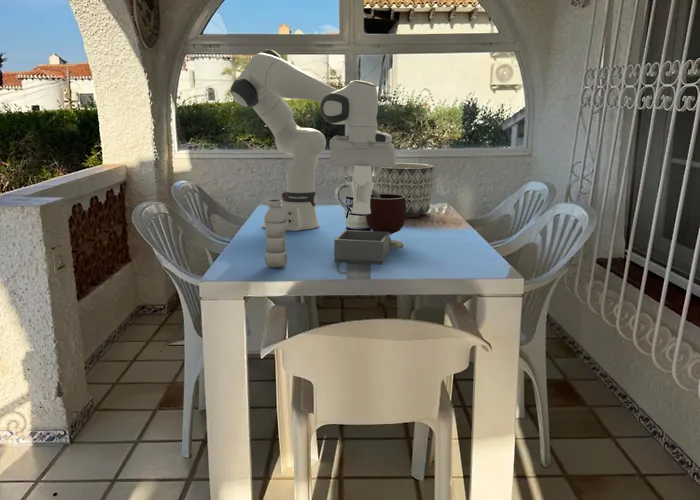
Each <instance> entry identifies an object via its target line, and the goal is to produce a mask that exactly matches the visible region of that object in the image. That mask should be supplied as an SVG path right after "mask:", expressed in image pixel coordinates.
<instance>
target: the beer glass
mask: <svg viewBox="0 0 700 500" xmlns="http://www.w3.org/2000/svg"><path fill="white" fill-rule="evenodd" d="M351 168H352V170H351V175H352V182H351V189H352V198H353V204H352V209H351V213H352V214H354V215H362V216H363V215H364V216H366V215H367V214H371V205H370V202H371V195H372V190H373V188H374V185H375V182H373V177H374V176H375V167H372V166H361V165H353V167H351Z"/></svg>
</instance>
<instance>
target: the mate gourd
mask: <svg viewBox="0 0 700 500" xmlns="http://www.w3.org/2000/svg"><path fill="white" fill-rule="evenodd" d="M370 205H371V214H367V215H365V220H366V225H368V227H369V228H370V231H378V232H390V236H392V235H393V234H395V233H397V232H400V231H401V230H402V228H404V226H405V223H406V219H407V218H406V201H405V196H404V195H399V194H379V193H378V192H377V191H376V188H374V187H373V190H372V195H371V202H370ZM403 247H404V243H403V242H402V241H399V240H396V239H395V240H393V239H391V238H390V244H389V250H396V249H400V248H403Z"/></svg>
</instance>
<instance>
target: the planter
mask: <svg viewBox="0 0 700 500" xmlns="http://www.w3.org/2000/svg"><path fill="white" fill-rule="evenodd" d="M434 168H435V166H434V165H432V164H428V163H427V164H426V163H416V162H415V163H411V162H409V163H407V162H396V165H395V166H394V167H392V168H388V167H382V171H381V173H380V175H379V176H378V182H374V185H375V190H376V191H377V192H378V193H379V194H399V195H404V196H405V201H406V219H407V218H416V217H419V216H420V215H421V214H426V213H428V212H429V211H431V199H432V190H433V188H432V187H433V178H434V170H435V169H434ZM377 173H378V171H377V167H374V176H376V175H377Z"/></svg>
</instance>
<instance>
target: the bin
mask: <svg viewBox="0 0 700 500" xmlns="http://www.w3.org/2000/svg"><path fill="white" fill-rule="evenodd" d="M390 239H391V235H390V232H378V231H372V230H354V229H353V230H352V229H351V230H350V229H344V230H343V231H342V232H340V234H339V235H338V236H337V237H336V238H334V241H333V242H334V252H333V253H334V263H351V264H365V265H366V264H368V265H369V264H370V265H384V263H385V261H386V260H387V258H388V256H389V254H390V249H389V244H390Z"/></svg>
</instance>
